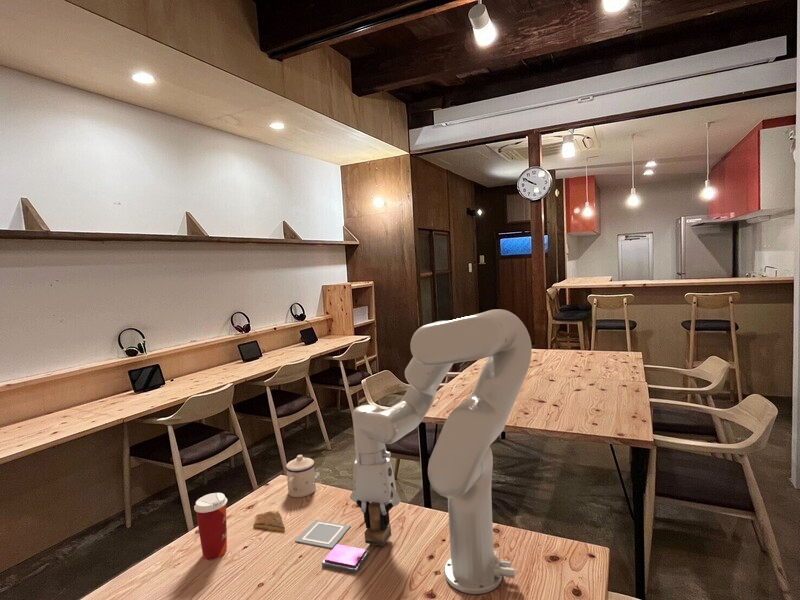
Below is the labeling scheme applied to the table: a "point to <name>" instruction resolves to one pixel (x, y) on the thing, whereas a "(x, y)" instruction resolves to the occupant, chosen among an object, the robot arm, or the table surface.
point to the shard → (269, 521)
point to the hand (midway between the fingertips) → (377, 525)
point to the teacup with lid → (301, 477)
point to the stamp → (376, 526)
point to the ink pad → (345, 558)
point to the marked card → (323, 534)
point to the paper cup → (212, 524)
